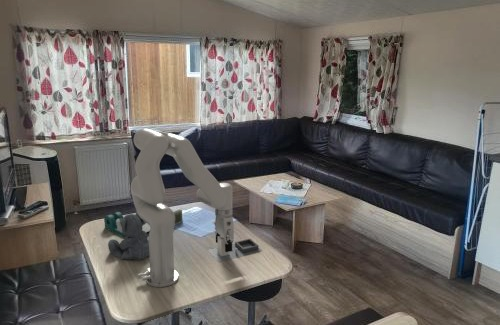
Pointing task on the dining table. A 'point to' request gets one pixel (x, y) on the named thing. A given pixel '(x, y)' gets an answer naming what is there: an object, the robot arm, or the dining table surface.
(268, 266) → the dining table surface
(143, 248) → the koala plush
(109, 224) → the dark green rounded piece
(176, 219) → the handheld radio
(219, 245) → the cream rectangular block
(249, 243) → the grey base with tray
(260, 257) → the dining table surface
